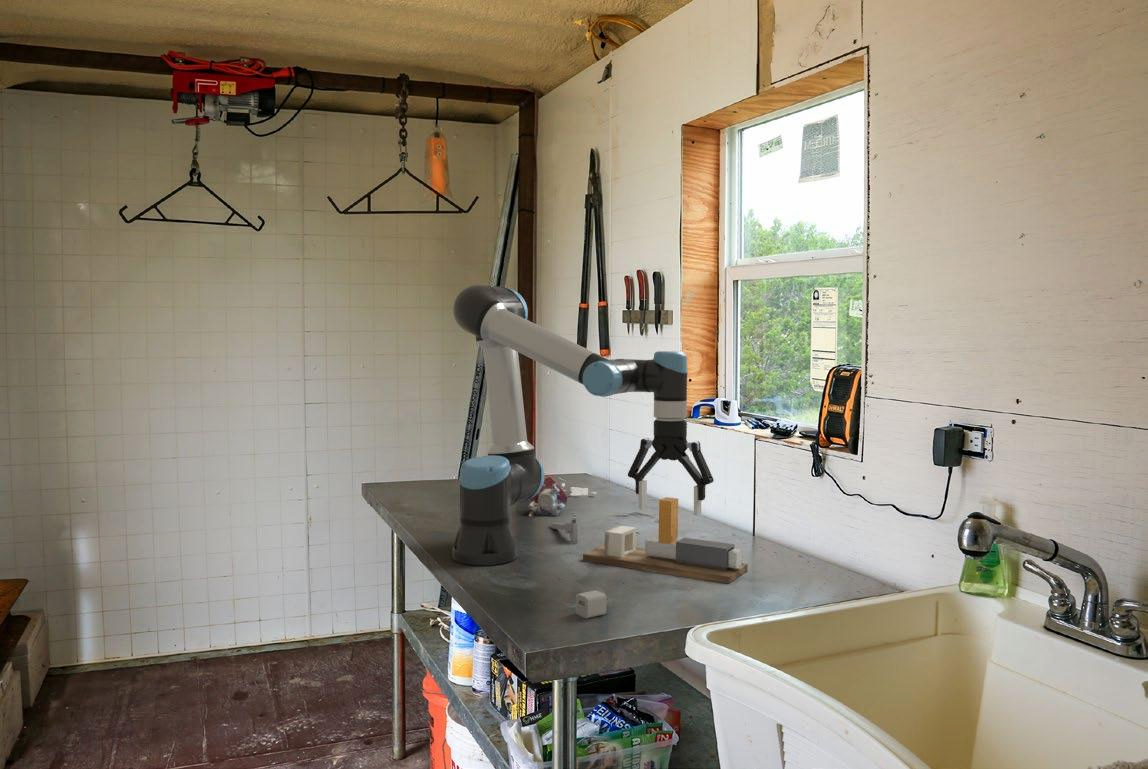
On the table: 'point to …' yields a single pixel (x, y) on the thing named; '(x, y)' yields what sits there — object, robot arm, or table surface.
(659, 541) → the stacked block assembly
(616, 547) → the socket block
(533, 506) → the brake caliper
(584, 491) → the miniature set
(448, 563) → the table surface
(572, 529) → the caliper
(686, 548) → the outer sleeve
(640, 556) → the base board
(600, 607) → the usb wall charger
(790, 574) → the table surface
